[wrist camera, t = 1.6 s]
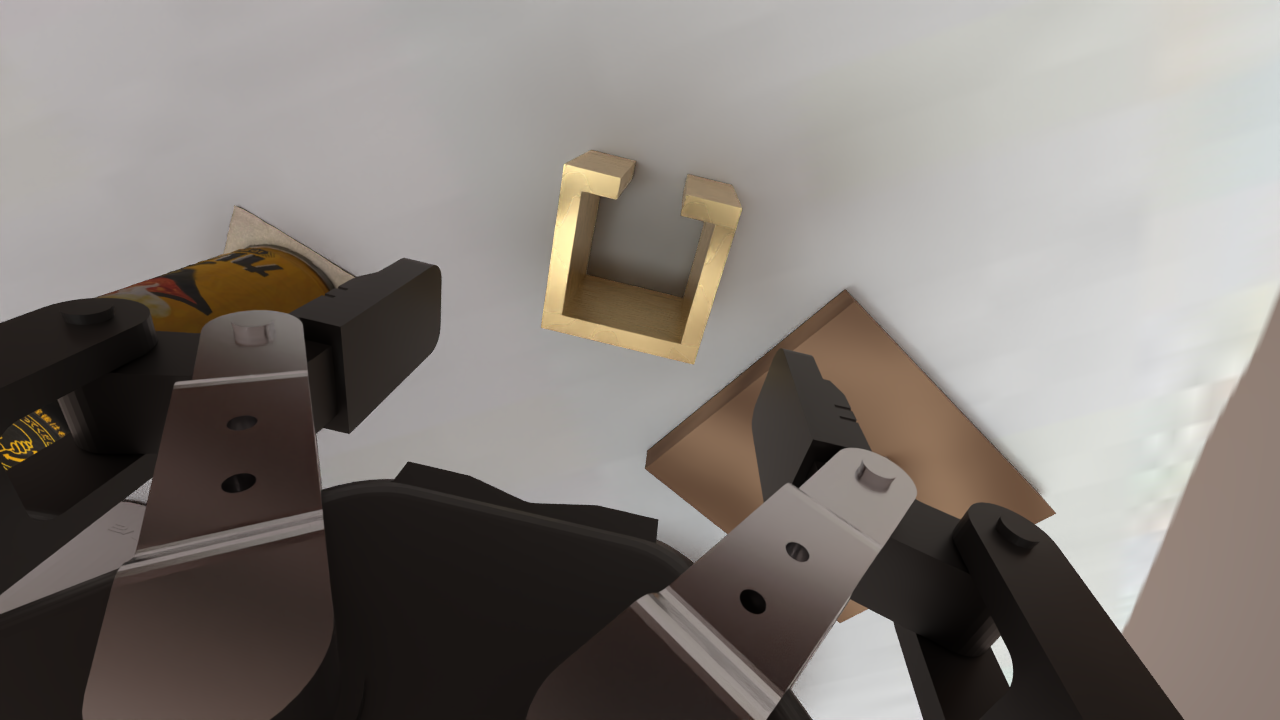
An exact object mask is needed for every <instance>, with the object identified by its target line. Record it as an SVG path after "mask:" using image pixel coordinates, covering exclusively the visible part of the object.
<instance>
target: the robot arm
mask: <svg viewBox="0 0 1280 720" xmlns="http://www.w3.org/2000/svg"><path fill="white" fill-rule="evenodd" d="M441 281H442V280H441V271H440V269H439V267H438V266H436V265H432V264H428V263H424V262H420V261H415V260H411V259H407V258H402V259H400V260H398V261H397V262H395V263H393V264H391V265H390V266H388V267H386V268H384V269H383V270H381V271H379V272H376V273H372V274H368V275H363V276H359V277H355V278H353V279H351V280H349V281H347V282H345V283H343V284H342V285H340V286H338V289H337V288H334V289H332V290H331V291H329V292H327V293H325V296H323V295H321V296H320V297H318V298H316V299H314V300H312V301H310V302H309V303H307V304H305V305H303V306H301V307H299V308H298V309H296V310H294V311H292V312H290V313H288V314H286V313H282V312H277V311H268V310H251V311H241V312H235V313H230V314H226V315H223V316H220V317H217V318H215V319H213V320H211V321H209V322H208V323H207V324H205V325H204V327H203V328H202V330H201V333H185V332H168V331H155V328H154V324H153V320H152V317H151V313H150V310H149V308H148V307H147V306H145V305H144V304H142V303H139V302H136V301H132V300H127V299H119V298H88V299H78V300H71V301H66V302H61V303H57V304H53V305H49V306H46V307H43V308H40V309H38V310H35V311H32V312H29V313H27V314H24V315H21V316H18V317H16V318H13V319H10V320H8V321H5V322H2V323H0V438H1V436H2V435H3V433H4V432H5V431H6V430H7V429H8V428H9V427H10V426H11V425H12V424H13V423H15V422H16V421H18V420H20V419H21V418H23V417H25V416H27V415H29V414H31V413H33V412H35V411H37V410H39V409H40V408H42V407H44V406H46V405H48V404H50V403H52V402H54V401H56V400H58V402H59V405H60V407H61V409H62V412H63V414H64V417H65V419H66V421H67V424H68V426H69V429H70V431H71V433H69V434H67V435H65V436H64V437H62V438H60V439H59V440H57V441H55V442H54V443H52V444H50V445H49V446H47V447H45V448H43V449H42V450H40V451H38V452H37V453H35V454H33V455H32V456H30V457H28V458H27V459H25V460H23V461H22V462H20V463H18V464H16V465H15V466H13V467H11V468H10V469H8V470H6V471H5V469H4V467H3V465H2V463H1V462H0V720H813V719H812V718H811V717H810V715H809V714H808V713H807V711H806V710H805V708H804V707H803V706H802V704H801V703H800V701H799V700H798V699H797V697H796V696H795V695H794V693H793V692H792V690H791V689H792V687H793V686H794V684H795V683H796V681H797V680H798V678H799V677H800V675H801V674H802V672H803V670H804V669H805V667H806V666H807V664H808V663H809V661H810V660H811V658H812V657H813V655H814V654H815V652H816V651H817V649H818V648H819V646H820V645H821V643H822V642H823V640H824V639H825V637H826V636H827V634H828V633H829V631H830V630H831V628H832V627H833V625H834V624H835V622H836V621H837V619H838V618H839V616H840V614H841V613H842V611H843V610H844V608H845V607H846V605H847V604H848V602H849V601H850V600H852V601H854V602H856V603H858V604H860V605H862V606H864V607H866V608H868V609H870V610H872V611H874V612H876V613H878V614H880V615H882V616H884V617H886V618H888V619H890V620H892V621H893V622H894V626H895V630H896V633H897V636H898V639H899V642H900V646H901V649H902V652H903V655H904V659H905V662H906V665H907V668H908V672H909V675H910V678H911V681H912V685H913V688H914V691H915V694H916V697H917V701H918V704H919V707H920V710H921V714H922V717H923V720H1184V719H1183V717H1182V716H1181V715H1180V713H1179V712H1178V711H1177V709H1176V708H1175V707H1174V705H1173V704H1172V703H1171V701H1170V700H1169V698H1168V697H1167V696H1166V694H1165V693H1164V691H1163V690H1162V689H1161V687H1160V686H1159V685H1158V683H1157V682H1156V680H1155V679H1154V678H1153V676H1152V675H1151V674H1150V672H1149V671H1148V669H1147V668H1146V667H1145V665H1144V664H1143V663H1142V661H1141V660H1140V659H1139V657H1138V656H1137V654H1136V653H1135V652H1134V650H1133V649H1132V648H1131V646H1130V645H1129V644H1128V642H1127V641H1126V639H1125V638H1124V637H1123V635H1122V634H1121V632H1120V631H1119V630H1118V628H1117V627H1116V626H1115V624H1114V623H1113V621H1112V620H1111V619H1110V617H1109V616H1108V615H1107V613H1106V612H1105V611H1104V609H1103V608H1102V606H1101V605H1100V604H1099V602H1098V601H1097V600H1096V598H1095V597H1094V595H1093V594H1092V593H1091V591H1090V590H1089V589H1088V587H1087V586H1086V584H1085V583H1084V582H1083V580H1082V579H1081V578H1080V576H1079V575H1078V573H1077V572H1076V571H1075V569H1074V568H1073V567H1072V565H1071V564H1070V563H1069V561H1068V560H1067V558H1066V557H1065V556H1064V554H1063V553H1062V552H1061V550H1060V549H1059V547H1058V546H1057V545H1056V544H1055V542H1054V541H1053V540H1052V539H1051V538H1050V537H1049V536H1048V535H1047V534H1046V533H1045V532H1044V531H1042V530H1041V529H1040V528H1039V527H1037V526H1036V525H1035V524H1033V523H1032V522H1031V521H1029V520H1027V519H1026V518H1024V517H1023V516H1021V515H1019V514H1017V513H1015V512H1013V511H1011V510H1009V509H1007V508H1004V507H1002V506H999V505H995V504H991V503H984V502H980V503H975V504H973V505H971V506H970V507H969V509H968V510H967V511H966V513H965V514H964V516H963V517H962V518H961V519H958V518H956V517H954V516H952V515H949V514H947V513H945V512H943V511H940V510H938V509H936V508H933V507H931V506H929V505H927V504H924V503H922V502H920V501H918V500H916V499H915V498H916V496H917V489H916V486H915V484H914V482H913V481H912V479H911V478H910V477H909V476H908V474H907V473H906V472H905V471H904V470H902V469H901V468H900V467H899V466H897V465H896V464H895V463H893V462H892V461H890V460H889V459H887V458H885V457H883V456H881V455H879V454H877V453H874V452H872V450H871V448H870V446H869V444H868V442H867V440H866V438H865V436H864V434H863V432H862V430H861V428H860V426H859V423H856V421H857V419H856V417H855V415H854V413H853V411H851V407H850V405H849V403H848V401H847V399H846V397H845V395H844V394H843V393H842V392H841V391H840V390H839V389H838V388H837V387H836V386H835V385H834V384H833V383H832V382H831V381H829V380H825V379H823V378H822V375H821V373H820V371H819V369H818V366H817V364H816V362H815V359H814V357H813V356H812V355H808V354H804V353H800V352H796V351H791V350H787V349H783V348H780V349H779V350H778V351H777V352H776V354H775V356H774V358H773V361H772V363H771V366H770V368H769V371H768V373H767V376H766V378H765V381H764V384H763V386H762V389H761V391H760V394H759V396H758V399H757V402H756V404H755V408H754V411H753V417H752V434H753V440H754V446H755V452H756V459H757V465H758V471H759V477H760V483H761V489H762V496H763V502H764V503H763V504H762V505H761V506H760V507H758V508H757V509H756V510H755V511H754V512H753V513H752V514H750V515H749V516H748V517H747V518H746V519H745V520H744V521H742V522H741V523H740V524H739V525H738V526H737V527H736V528H734V529H733V530H732V531H731V532H730V533H729V534H727V535H726V536H725V537H724V538H723V539H722V540H721V541H719V542H718V543H717V544H716V545H715V546H714V547H713V548H711V549H710V550H709V551H708V552H707V553H706V554H705V555H703V556H702V557H701V558H700V559H699V560H698V561H696V562H695V563H693V562H692V561H691V560H689V559H688V558H687V557H685V556H684V555H683V554H681V553H680V552H678V551H677V550H675V549H674V548H672V547H670V546H668V545H667V544H665V543H663V542H661V541H659V540H657V539H656V538H657V527H658V519H654V518H649V517H645V516H641V515H636V514H632V513H628V512H623V511H619V510H615V509H610V508H606V507H602V506H598V505H570V504H540V503H529V502H526V501H523V500H521V499H519V498H516V497H514V496H512V495H510V494H508V493H506V492H504V491H501V490H499V489H497V488H495V487H493V486H491V485H489V484H486V483H484V482H482V481H480V480H478V479H476V478H473V477H471V476H468V475H464V474H460V473H456V472H451V471H447V470H443V469H438V468H434V467H430V466H425V465H421V464H417V463H412V462H407V464H406V465H405V466H404V468H403V469H402V470H401V471H400V473H399V474H398V475H397V477H396V478H395V479H378V480H366V481H358V482H352V483H347V484H342V485H338V486H334V487H330V488H327V489H323V490H322V481H321V472H320V463H319V454H318V446H317V438H316V433H318V432H319V431H320V430H321V429H322V428H326V429H330V430H335V431H339V432H343V433H347V434H350V433H351V432H352V431H353V430H354V429H355V428H356V427H357V426H358V425H359V424H360V423H361V422H362V421H363V420H364V419H365V418H366V417H367V416H368V415H369V414H370V413H371V412H372V411H373V410H374V409H375V408H376V407H377V406H378V405H379V404H380V403H381V402H382V401H383V400H384V399H385V398H386V397H387V396H388V395H389V394H390V393H391V392H392V391H393V390H394V389H395V388H396V387H397V386H398V385H399V384H400V383H402V382H403V381H404V380H405V379H406V378H407V377H408V376H409V375H410V374H411V373H412V372H413V371H414V370H415V369H416V368H417V367H418V366H419V365H420V364H421V363H422V362H423V361H424V360H425V359H426V358H427V357H428V356H429V355H430V354H431V353H432V351H433V350H434V348H435V346H436V344H437V342H438V338H439V334H440V323H441ZM152 477H153V478H152ZM151 478H152V483H151V487H150V492H149V496H148V500H147V505H146V506H144V505H139V504H135V503H131V502H121V501H122V500H124V499H125V498H126V497H128V496H129V495H130V494H131V493H133V492H134V491H135V490H137V489H138V488H139V487H140V486H142V485H143V484H144V483H146V482H147V481H148V480H150V479H151ZM1000 636H1001V637H1002V639H1003V641H1004V643H1005V645H1006V647H1007V649H1008V651H1009V653H1010V655H1011V659H1012V664H1013V679H1012V683H1011V686H1010V687H1009V685H1008V683H1007V681H1006V678H1005V676H1004V674H1003V672H1002V670H1001V668H1000V666H999V664H998V662H997V659H996V657H995V655H994V653H993V651H992V649H991V647H990V646H991V645H992V644H993V643H994V642H995V641H996V640H997V639H998V638H999V637H1000Z"/></svg>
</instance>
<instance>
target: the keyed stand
mask: <svg viewBox="0 0 1280 720" xmlns="http://www.w3.org/2000/svg"><path fill="white" fill-rule="evenodd" d="M780 348H783V349H787V350H791V351H796V352H800V353H804V354H808V355H812V356H813V357H814V359H815V362H816V364H817V366H818V369H819V371H820V373H821V375H822V378H823V379H825V380H829V381H831V382H832V383H833V384H834V385H835V386H836V387H837V388H838V389H839V390H840V391H841V392H842V393H843V394H844V395H845V397H846V399H847V401H848V403H849V405H850V407H851V411H853V413H854V415H855V417H856V419H857V421H856V423H859V426H860V428H861V430H862V432H863V434H864V436H865V438H866V440H867V442H868V444H869V446H870V448H871V450H872V452H874V453H877V454H879V455H881V456H883V457H885V458H887V459H889V460H890V461H892V462H893V463H895V464H896V465H897V466H899V467H900V468H901V469H902V470H904V471H905V472H906V473H907V474H908V476H909V477H910V478H911V479H912V481H913V482H914V484H915V486H916V489H917V496H916V498H915V499H916V500H918V501H920V502H922V503H924V504H927V505H929V506H931V507H933V508H936V509H938V510H940V511H943V512H945V513H947V514H949V515H952V516H954V517H956V518H958V519H961V518H962V517H963V516H964V514H965V513H966V511H967V510H968V509H969V507H970V506H971V505H973V504H975V503H980V502H984V503H991V504H995V505H999V506H1002V507H1004V508H1007V509H1009V510H1011V511H1013V512H1015V513H1017V514H1019V515H1021V516H1023V517H1024V518H1026V519H1027V520H1029V521H1031V522H1032V523H1033V524H1036V523H1038V522H1040V521H1042V520H1044V519H1046V518H1048V517H1050V516H1052V515H1054V514H1056V513H1055V512H1054V510H1053V509H1052V508H1051V507H1050V506H1049V505H1048V504H1047V502H1046V501H1045V500H1044V499H1043V498H1042V497H1041V495H1040V494H1039V493H1038V492H1037V491H1036V490H1035V489H1034V488H1033V487H1032V486H1031V485H1030V484H1029V483H1028V482H1027V480H1026V479H1025V478H1024V477H1023V476H1022V475H1021V474H1020V473H1019V472H1018V471H1017V470H1016V469H1015V468H1014V467H1013V466H1012V465H1011V464H1010V463H1009V461H1008V460H1007V459H1006V458H1005V457H1004V456H1003V455H1002V454H1001V453H1000V452H999V451H998V450H997V449H996V448H995V447H994V446H993V445H992V444H991V443H990V441H989V440H988V439H987V438H986V437H985V436H984V435H983V434H982V433H981V432H980V431H979V430H978V429H977V428H976V427H975V426H974V425H973V424H972V422H971V421H970V420H969V419H968V418H967V417H966V416H965V415H964V414H963V413H962V412H961V411H960V410H959V409H958V408H957V407H956V406H955V405H954V403H953V402H952V401H951V400H950V399H949V398H948V397H947V396H946V395H945V394H944V393H943V392H942V391H941V390H940V389H939V388H938V387H937V386H936V384H935V383H934V382H933V381H932V380H931V379H930V378H929V377H928V376H927V375H926V374H925V373H924V372H923V371H922V370H921V369H920V368H919V367H918V366H917V364H916V363H915V362H914V361H913V360H912V359H911V358H910V357H909V356H908V355H907V354H906V353H905V352H904V351H903V350H902V349H901V348H900V347H899V345H898V344H897V343H896V342H895V341H894V340H893V339H892V338H891V337H890V336H889V335H888V334H887V333H886V332H885V331H884V330H883V329H882V328H881V326H880V325H879V324H878V323H877V322H876V321H875V320H874V319H873V318H872V317H871V316H870V315H869V314H868V313H867V312H866V311H865V310H864V309H863V307H862V306H861V305H860V304H859V303H858V302H857V301H856V300H855V299H854V298H853V297H852V296H851V295H850V294H849V293H848V292H847V291H846V290H844V291H843V292H842V293H840V294H839V295H838V296H837V297H835V298H834V299H833V300H832V301H830V302H829V303H828V304H827V305H826V306H824V307H823V308H822V309H821V310H819V311H818V312H817V313H816V314H815V315H813V316H812V317H811V318H810V319H808V320H807V321H806V322H805V323H804V324H802V325H801V326H800V327H799V328H797V329H796V330H795V331H794V332H793V333H791V334H790V335H789V336H788V337H786V338H785V339H784V340H783V341H781V342H780V343H779V344H778V345H777V346H775V347H774V348H773V349H772V350H770V351H769V352H768V353H767V354H766V355H764V356H763V357H762V358H761V359H759V360H758V361H757V362H756V363H755V364H753V365H752V366H751V367H750V368H748V369H747V370H746V371H745V372H744V373H742V374H741V375H740V376H739V377H737V378H736V379H735V380H734V381H732V382H731V383H730V384H729V385H728V386H726V387H725V388H724V389H723V390H721V391H720V392H719V393H718V394H717V395H715V396H714V397H713V398H712V399H710V400H709V401H708V402H707V403H706V404H704V405H703V406H702V407H701V408H699V409H698V410H697V411H696V412H695V413H693V414H692V415H691V416H690V417H688V418H687V419H686V420H685V421H683V422H682V423H681V424H680V425H679V426H677V427H676V428H675V429H674V430H672V431H671V432H670V433H669V434H668V435H666V436H665V437H664V438H663V439H661V440H660V441H659V442H658V443H657V444H655V445H654V446H653V447H652V448H650V449H649V450H648V451H647V457H646V465H645V469H646V470H647V471H648V472H650V473H651V474H652V475H653V476H655V477H656V478H657V479H659V480H660V481H661V482H662V483H664V484H665V485H666V486H667V487H669V488H670V489H671V490H672V491H674V492H675V493H676V494H677V495H679V496H680V497H681V498H683V499H684V500H685V501H686V502H688V503H689V504H690V505H691V506H693V507H694V508H695V509H696V510H698V511H699V512H700V513H701V514H703V515H704V516H705V517H707V518H708V519H709V520H710V521H712V522H713V523H714V524H715V525H717V526H718V527H719V528H720V529H722V530H723V531H724V532H726V533H727V534H729V533H730V532H731V531H732V530H733V529H734V528H736V527H737V526H738V525H739V524H740V523H741V522H742V521H744V520H745V519H746V518H747V517H748V516H749V515H750V514H752V513H753V512H754V511H755V510H756V509H757V508H758V507H760V506H761V505H762V504H763V503H764V502H763V496H762V489H761V483H760V477H759V471H758V465H757V459H756V452H755V446H754V440H753V434H752V417H753V411H754V408H755V404H756V402H757V399H758V396H759V394H760V391H761V389H762V386H763V384H764V381H765V378H766V376H767V373H768V371H769V368H770V366H771V363H772V361H773V358H774V356H775V354H776V352H777V351H778V350H779V349H780ZM867 609H868V608H866V607H864V606H862V605H860V604H858V603H856V602H854V601H852V600H850V601H849V602H848V604H847V605H846V607H845V608H844V610H843V611H842V613H841V614H840V616H839V618H838V619H837V621H838V622H839V623H841V622H843V621H845V620H847V619H849V618H851V617H853V616H855V615H857V614H859V613H861V612H863V611H865V610H867Z"/></svg>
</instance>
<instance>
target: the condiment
mask: <svg viewBox="0 0 1280 720" xmlns="http://www.w3.org/2000/svg"><path fill="white" fill-rule="evenodd" d="M229 228H230V229H229V232H228V235H227V241H226V246H225V250H224V253H223V255H219V256H217V257H214V258H211V259H208V260H205V261H201V262H198V263H196V264H193V265H189V266H186V267H184V268H181V269H178V270H175V271H171V272H169V273H167V274H164V275H161V276H158V277H155V278H152V279H149V280H146V281H143V282H140V283H137V284H134V285H131V286H129V287H126V288H123V289H120V290H117V291H114V292H111V293H108V294H105V295H102V296H98V297H96V298H119V299H127V300H132V301H136V302H139V303H142V304H144V305H145V306H147V307H148V308H149V310H150V313H151V317H152V320H153V324H154V328H155V331H168V332H185V333H201V330H202V328H203V327H204V325H205V324H207V323H208V322H209V321H211V320H213V319H215V318H217V317H220V316H223V315H226V314H230V313H235V312H241V311H251V310H268V311H277V312H282V313H286V314H288V313H290V312H292V311H294V310H296V309H298V308H299V307H301V306H303V305H305V304H307V303H309V302H310V301H312V300H314V299H316V298H318V297H320V296H321V295H323V296H325V293H327V292H329V291H331V290H332V289H334V288H337V289H338V286H340V285H342V284H343V283H345V282H347V281H349V280H351V279H353V278H355V277H353V276H352V275H350V274H348V273H346V272H344V271H343V270H342V269H340V268H339V267H337V266H335V265H334V264H332V263H331V262H329V261H328V260H326V259H325V258H323V257H322V256H320V255H319V254H317V253H316V252H314V251H312V250H311V249H309V248H307V247H305V246H304V245H302V244H300V243H299V242H297V241H295V240H294V239H292V238H291V237H289V236H287V235H286V234H284V233H282V232H281V231H279V230H278V229H276V228H274V227H273V226H271V225H269V224H267V223H265V222H264V221H262V220H261V219H260V218H258V217H256V216H254V215H253V214H251V213H249V212H247V211H245V210H244V209H241V208H239V207H237V206H235V205H234V211H233V214H232V218H231V223H230V226H229ZM69 433H71V431H70V429H69V426H68V424H67V421H66V419H65V417H64V414H63V412H62V409H61V407H60V405H59V402H58V400H56V401H54V402H52V403H50V404H48V405H46V406H44V407H42V408H40V409H39V410H37V411H35V412H33V413H31V414H29V415H27V416H25V417H23V418H21V419H20V420H18V421H16V422H15V423H13V424H12V425H11V426H10V427H9V428H8V429H7V430H6V431H5V432H4V433H3V435H2V436H1V438H0V462H1V463H2V465H3V467H4V469H5V471H6V470H8V469H10V468H11V467H13V466H15V465H16V464H18V463H20V462H22V461H23V460H25V459H27V458H28V457H30V456H32V455H33V454H35V453H37V452H38V451H40V450H42V449H43V448H45V447H47V446H49V445H50V444H52V443H54V442H55V441H57V440H59V439H60V438H62V437H64V436H65V435H67V434H69Z"/></svg>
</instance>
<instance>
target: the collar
mask: <svg viewBox="0 0 1280 720" xmlns="http://www.w3.org/2000/svg"><path fill="white" fill-rule="evenodd" d="M635 164H636V161H634V160H630V159H626V158H622V157H618V156H614V155H610V154H606V153H602V152H598V151H594V150H590V151H588V152H586V153H584V154H583V155H581V156H579V157H577V158H575V159H573V160H571V161H569V162H567V163H565V164H564V168H563V175H562V182H561V189H560V197H559V204H558V211H557V218H556V225H555V232H554V239H553V246H552V253H551V260H550V267H549V274H548V281H547V288H546V295H545V303H544V310H543V317H542V324H541V328H545V329H549V330H553V331H557V332H561V333H566V334H570V335H574V336H578V337H582V338H586V339H590V340H594V341H599V342H603V343H607V344H611V345H615V346H619V347H623V348H628V349H632V350H636V351H640V352H644V353H648V354H652V355H656V356H661V357H665V358H669V359H673V360H677V361H681V362H685V363H690V364H694V362H695V359H696V356H697V353H698V349H699V346H700V343H701V340H702V336H703V333H704V330H705V327H706V324H707V320H708V317H709V314H710V311H711V308H712V304H713V301H714V298H715V295H716V292H717V288H718V285H719V282H720V279H721V276H722V272H723V269H724V266H725V263H726V259H727V256H728V253H729V250H730V247H731V243H732V240H733V237H734V234H735V231H736V227H737V224H738V221H739V218H740V215H741V211H742V206H741V204H740V202H739V200H738V197H737V195H736V193H735V190H734V188H733V186H732V185H730V184H726V183H722V182H718V181H714V180H710V179H706V178H702V177H698V176H694V175H690V174H688V175H687V179H686V183H685V187H684V191H683V199H682V209H681V216H684V217H688V218H692V219H696V220H700V221H704V225H703V228H702V232H701V235H700V239H699V243H698V246H697V250H696V253H695V257H694V260H693V264H692V268H691V271H690V275H689V278H688V282H687V285H686V289H685V293H684V296H683V298H682V297H678V296H673V295H669V294H665V293H661V292H657V291H653V290H649V289H645V288H641V287H637V286H633V285H628V284H624V283H620V282H616V281H612V280H608V279H604V278H600V277H596V276H592V275H588V274H586V273H587V268H588V262H589V257H590V251H591V245H592V240H593V234H594V229H595V223H596V218H597V212H598V206H599V201H600V196H604V197H608V198H612V199H616V200H617V199H618V197H619V196H620V195H621V193H622V192H623V191H624V189H625V188H626V187H627V185H628V184H629V183H630V181H631V180H632V178H633V174H634V169H635Z"/></svg>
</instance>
